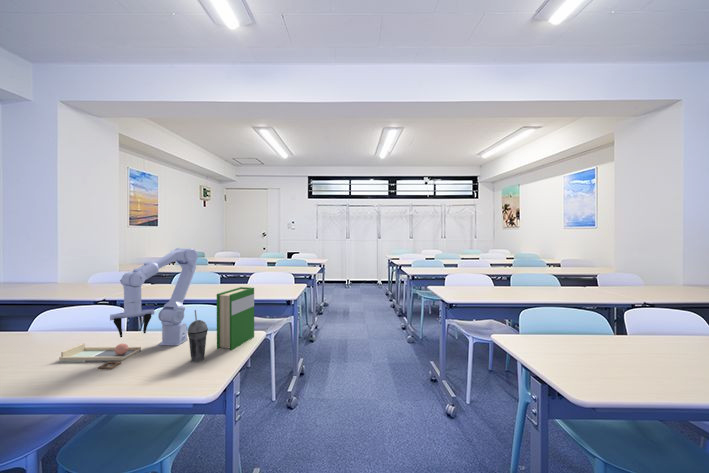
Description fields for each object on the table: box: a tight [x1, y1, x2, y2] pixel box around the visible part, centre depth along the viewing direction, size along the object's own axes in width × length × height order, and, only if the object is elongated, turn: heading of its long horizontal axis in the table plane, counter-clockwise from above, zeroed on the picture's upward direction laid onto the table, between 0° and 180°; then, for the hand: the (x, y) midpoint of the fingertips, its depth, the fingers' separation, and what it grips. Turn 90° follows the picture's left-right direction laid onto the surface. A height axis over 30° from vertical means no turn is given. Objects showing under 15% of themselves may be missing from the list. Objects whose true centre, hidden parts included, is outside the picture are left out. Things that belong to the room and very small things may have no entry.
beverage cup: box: [187, 309, 209, 363], centre depth 119 cm, size 7×7×20 cm
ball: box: [115, 343, 129, 355], centre depth 122 cm, size 4×4×4 cm
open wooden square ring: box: [97, 361, 123, 370], centre depth 113 cm, size 5×5×1 cm
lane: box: [58, 343, 142, 363], centre depth 122 cm, size 24×11×4 cm, turn 90°
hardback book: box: [216, 286, 255, 351], centre depth 138 cm, size 18×7×24 cm, turn 167°
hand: (133, 334), depth 122 cm, fingers open, 7 cm apart
